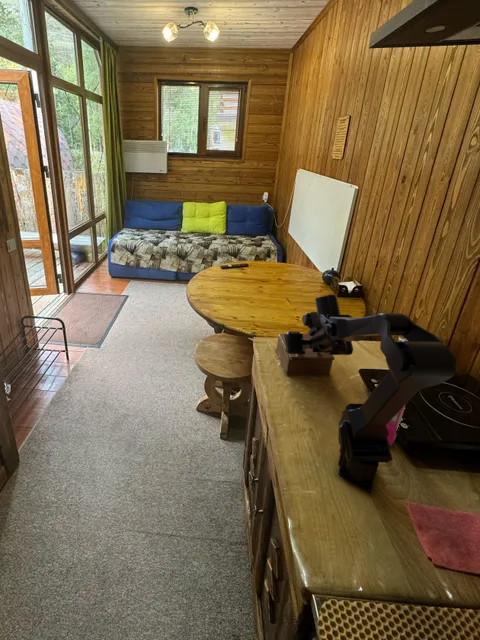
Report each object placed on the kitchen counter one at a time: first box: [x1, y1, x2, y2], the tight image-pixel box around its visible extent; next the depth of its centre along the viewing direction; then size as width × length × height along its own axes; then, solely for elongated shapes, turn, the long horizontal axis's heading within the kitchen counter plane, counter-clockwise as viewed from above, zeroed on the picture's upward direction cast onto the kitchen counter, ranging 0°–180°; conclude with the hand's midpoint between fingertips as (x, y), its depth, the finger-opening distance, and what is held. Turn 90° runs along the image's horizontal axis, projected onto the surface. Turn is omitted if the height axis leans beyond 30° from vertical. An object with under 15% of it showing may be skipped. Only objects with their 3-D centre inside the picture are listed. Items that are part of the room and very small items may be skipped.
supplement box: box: [386, 405, 406, 448], centre depth 76 cm, size 6×6×12 cm
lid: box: [278, 333, 335, 361], centre depth 100 cm, size 13×14×4 cm
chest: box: [276, 335, 334, 377], centre depth 102 cm, size 13×14×6 cm
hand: (308, 348), depth 97 cm, fingers closed on lid, 6 cm apart
